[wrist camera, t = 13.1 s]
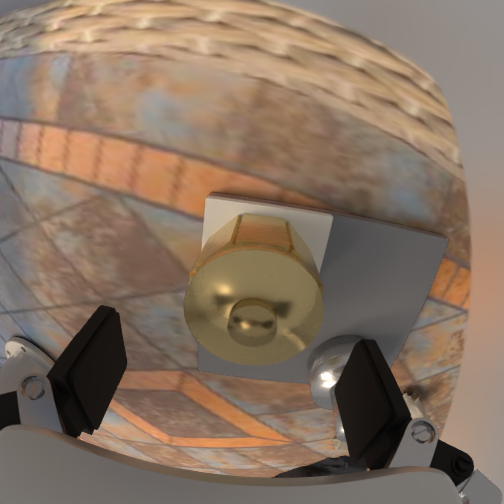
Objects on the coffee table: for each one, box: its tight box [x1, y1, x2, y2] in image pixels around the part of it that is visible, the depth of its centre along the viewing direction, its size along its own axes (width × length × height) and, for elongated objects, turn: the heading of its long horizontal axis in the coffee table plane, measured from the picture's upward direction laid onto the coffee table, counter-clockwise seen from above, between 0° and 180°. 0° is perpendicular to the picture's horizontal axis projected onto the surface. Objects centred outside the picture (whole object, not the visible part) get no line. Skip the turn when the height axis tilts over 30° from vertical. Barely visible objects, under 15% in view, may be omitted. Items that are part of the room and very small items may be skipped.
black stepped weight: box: [273, 456, 368, 478], centre depth 32 cm, size 15×22×5 cm
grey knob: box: [307, 335, 366, 442], centre depth 17 cm, size 5×5×7 cm
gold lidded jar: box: [184, 213, 324, 366], centre depth 14 cm, size 6×6×6 cm
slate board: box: [198, 192, 448, 384], centre depth 19 cm, size 14×16×1 cm
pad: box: [201, 196, 333, 273], centre depth 17 cm, size 7×7×1 cm
